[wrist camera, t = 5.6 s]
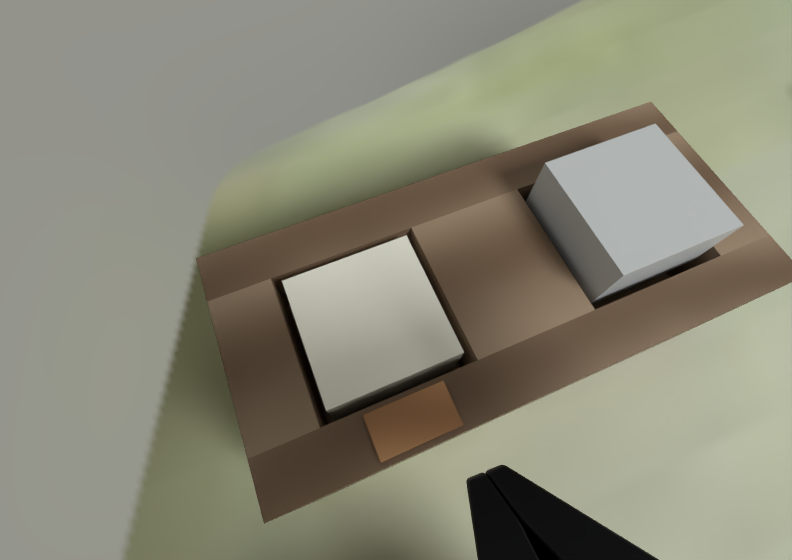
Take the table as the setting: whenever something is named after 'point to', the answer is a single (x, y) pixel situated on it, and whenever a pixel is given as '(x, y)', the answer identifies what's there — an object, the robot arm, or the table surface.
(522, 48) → the table surface
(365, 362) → the cream button
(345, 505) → the table surface
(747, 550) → the table surface
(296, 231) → the brown rectangular box
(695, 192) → the grey button
